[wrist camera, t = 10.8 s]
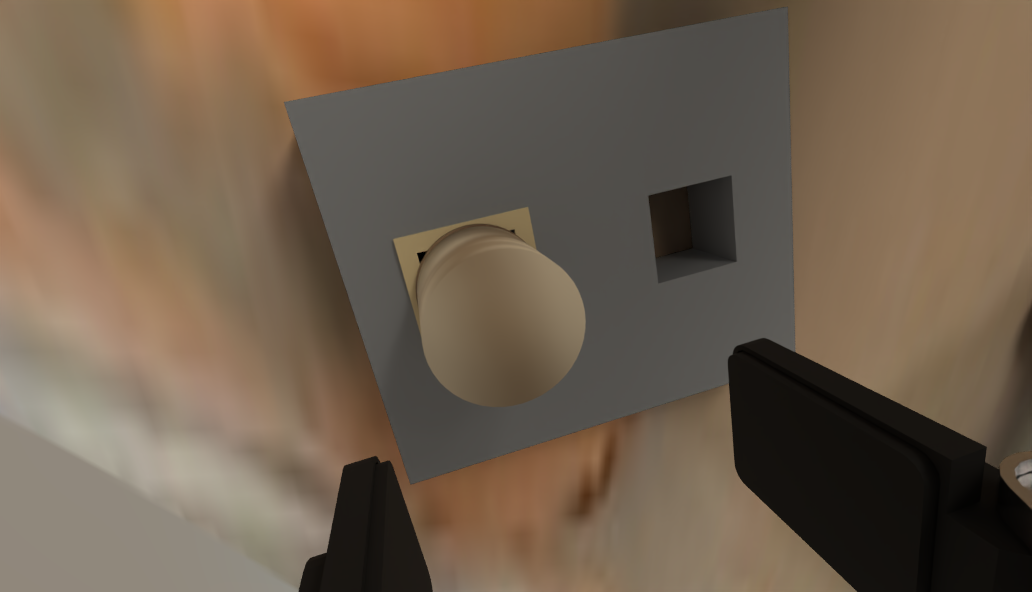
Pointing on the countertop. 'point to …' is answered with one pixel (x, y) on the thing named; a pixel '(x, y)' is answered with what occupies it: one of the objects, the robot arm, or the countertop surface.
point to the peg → (496, 316)
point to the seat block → (569, 216)
